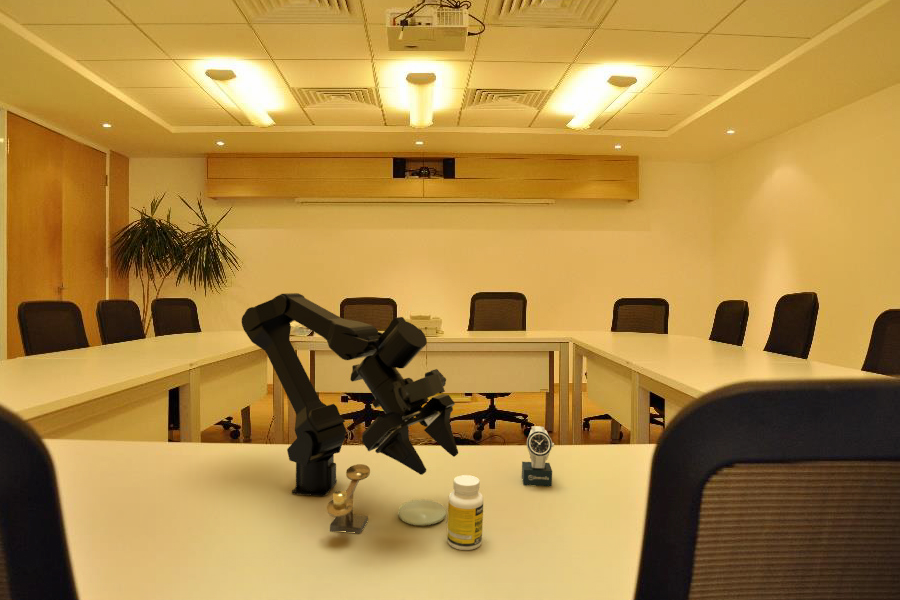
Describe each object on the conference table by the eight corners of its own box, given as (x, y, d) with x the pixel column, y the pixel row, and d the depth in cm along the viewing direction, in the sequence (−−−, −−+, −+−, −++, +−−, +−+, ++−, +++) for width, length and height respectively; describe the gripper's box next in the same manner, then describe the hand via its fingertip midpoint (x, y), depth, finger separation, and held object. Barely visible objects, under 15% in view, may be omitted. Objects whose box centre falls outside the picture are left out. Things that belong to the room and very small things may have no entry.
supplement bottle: (479, 553, 75) (481, 489, 74) (443, 549, 76) (445, 485, 75) (484, 535, 80) (486, 474, 80) (450, 531, 81) (452, 471, 81)
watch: (524, 489, 97) (526, 433, 97) (521, 473, 105) (522, 421, 105) (553, 490, 97) (555, 434, 96) (548, 474, 105) (549, 422, 104)
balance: (319, 546, 76) (319, 494, 75) (347, 506, 89) (347, 463, 88) (351, 549, 75) (352, 497, 75) (375, 509, 88) (375, 465, 87)
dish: (393, 525, 82) (393, 519, 82) (404, 503, 90) (404, 497, 90) (441, 529, 81) (442, 523, 81) (448, 507, 89) (448, 501, 89)
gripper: (377, 363, 74) (438, 452, 69) (446, 348, 90) (500, 420, 84) (338, 408, 79) (392, 495, 73) (410, 386, 94) (459, 456, 89)
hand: (441, 463), depth 80 cm, fingers open, 9 cm apart
